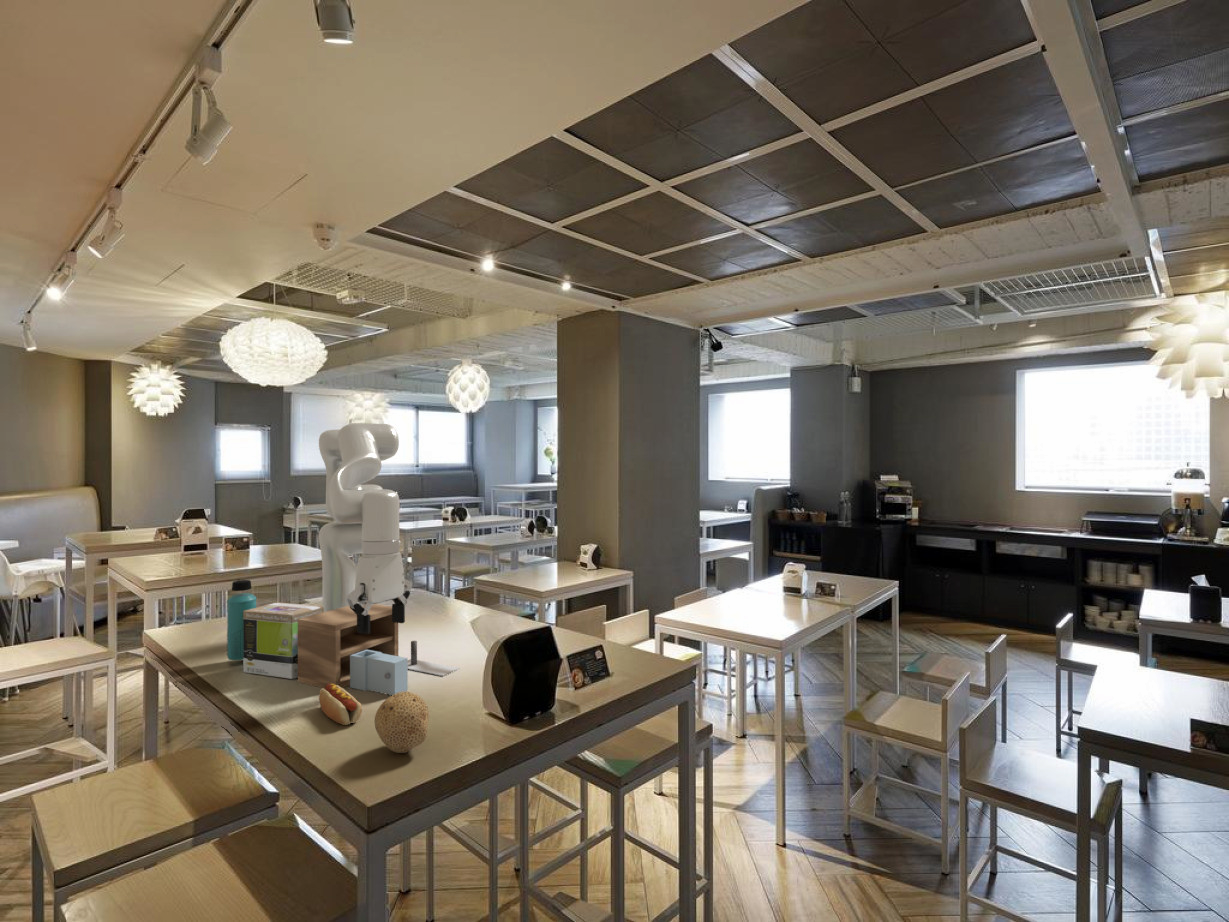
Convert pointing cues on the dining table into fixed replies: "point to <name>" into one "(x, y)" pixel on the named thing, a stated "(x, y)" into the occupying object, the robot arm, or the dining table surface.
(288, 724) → the dining table surface
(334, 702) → the food
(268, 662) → the tea box
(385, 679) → the blue box with dot
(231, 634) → the beverage bottle
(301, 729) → the dining table surface
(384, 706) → the natural sponge
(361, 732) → the dining table surface
